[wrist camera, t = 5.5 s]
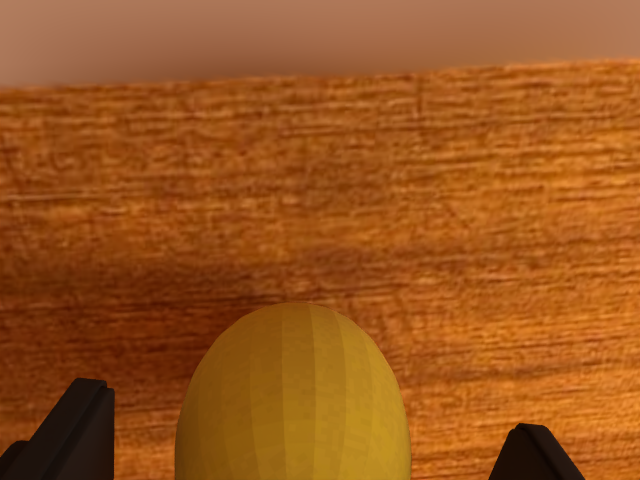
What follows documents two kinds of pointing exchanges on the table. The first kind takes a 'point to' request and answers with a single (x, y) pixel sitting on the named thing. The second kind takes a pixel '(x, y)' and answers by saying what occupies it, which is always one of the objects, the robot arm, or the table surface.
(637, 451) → the table surface
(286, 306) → the lemon
